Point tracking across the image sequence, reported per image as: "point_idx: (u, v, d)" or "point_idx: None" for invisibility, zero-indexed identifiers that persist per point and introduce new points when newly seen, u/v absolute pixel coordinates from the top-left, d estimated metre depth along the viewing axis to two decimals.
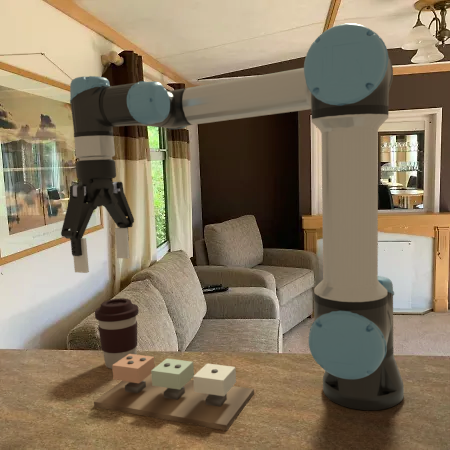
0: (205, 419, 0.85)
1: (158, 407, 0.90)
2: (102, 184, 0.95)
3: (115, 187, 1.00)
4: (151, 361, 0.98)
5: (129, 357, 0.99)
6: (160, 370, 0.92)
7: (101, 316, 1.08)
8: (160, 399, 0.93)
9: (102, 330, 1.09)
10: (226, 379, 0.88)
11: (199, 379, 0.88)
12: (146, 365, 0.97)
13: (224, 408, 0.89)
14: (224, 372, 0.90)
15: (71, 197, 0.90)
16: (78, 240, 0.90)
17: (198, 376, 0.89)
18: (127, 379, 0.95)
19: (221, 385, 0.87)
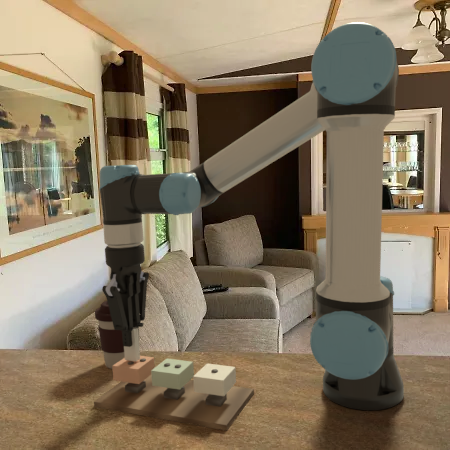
0: (205, 419, 0.85)
1: (158, 407, 0.90)
2: (131, 269, 0.95)
3: (141, 275, 0.99)
4: (151, 362, 0.98)
5: None
6: (160, 370, 0.92)
7: (101, 316, 1.08)
8: (160, 399, 0.93)
9: (102, 330, 1.09)
10: (226, 379, 0.88)
11: (199, 379, 0.88)
12: (146, 366, 0.97)
13: (224, 408, 0.89)
14: (224, 372, 0.90)
15: (108, 297, 0.91)
16: (129, 332, 0.95)
17: (198, 376, 0.89)
18: (127, 380, 0.95)
19: (221, 385, 0.87)
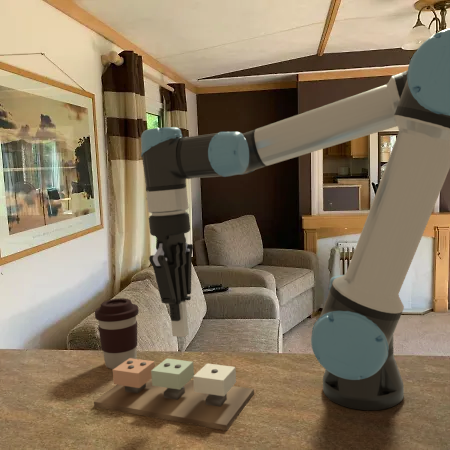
0: (205, 419, 0.85)
1: (158, 407, 0.90)
2: (176, 239, 0.90)
3: (185, 247, 0.95)
4: (151, 366, 0.98)
5: (129, 361, 0.99)
6: (160, 370, 0.92)
7: (101, 316, 1.08)
8: (160, 399, 0.93)
9: (102, 330, 1.09)
10: (226, 379, 0.88)
11: (199, 379, 0.88)
12: (147, 370, 0.97)
13: (224, 408, 0.89)
14: (224, 372, 0.90)
15: (155, 267, 0.86)
16: (177, 305, 0.90)
17: (198, 376, 0.89)
18: (128, 384, 0.95)
19: (221, 385, 0.87)
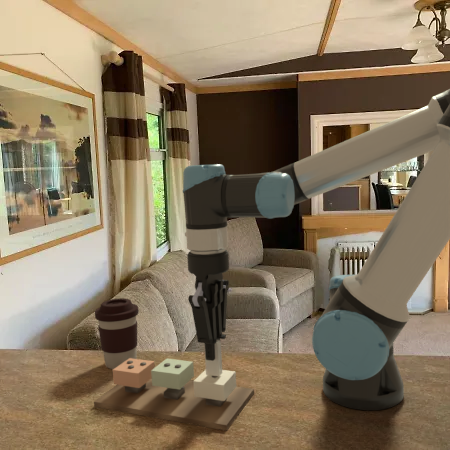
0: (205, 419, 0.85)
1: (158, 407, 0.90)
2: (214, 277, 0.88)
3: None
4: (151, 366, 0.98)
5: (129, 361, 0.99)
6: (160, 370, 0.92)
7: (101, 316, 1.08)
8: (160, 399, 0.93)
9: (102, 330, 1.09)
10: (226, 384, 0.88)
11: (200, 384, 0.89)
12: (147, 370, 0.97)
13: (224, 408, 0.89)
14: (225, 377, 0.90)
15: (193, 307, 0.84)
16: (212, 344, 0.88)
17: (198, 381, 0.89)
18: (128, 384, 0.95)
19: (222, 390, 0.87)
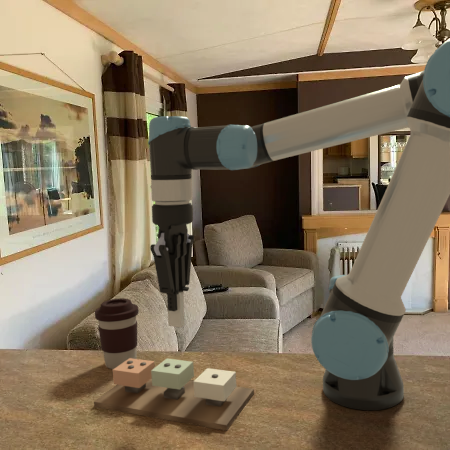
0: (205, 419, 0.85)
1: (158, 407, 0.90)
2: (178, 229, 0.89)
3: (186, 237, 0.94)
4: (151, 366, 0.98)
5: (129, 361, 0.99)
6: (160, 370, 0.92)
7: (101, 316, 1.08)
8: (160, 399, 0.93)
9: (102, 330, 1.09)
10: (226, 384, 0.88)
11: (200, 384, 0.89)
12: (147, 370, 0.97)
13: (224, 408, 0.89)
14: (225, 377, 0.90)
15: (155, 257, 0.86)
16: (175, 295, 0.90)
17: (198, 381, 0.89)
18: (128, 384, 0.95)
19: (222, 390, 0.87)
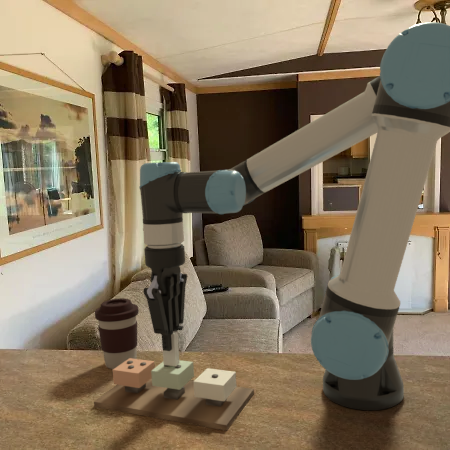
0: (205, 419, 0.85)
1: (158, 407, 0.90)
2: (171, 270, 0.91)
3: (180, 276, 0.96)
4: (151, 366, 0.98)
5: (129, 361, 0.99)
6: (160, 370, 0.92)
7: (101, 316, 1.08)
8: (160, 399, 0.93)
9: (102, 330, 1.09)
10: (226, 384, 0.88)
11: (200, 384, 0.89)
12: (147, 370, 0.97)
13: (224, 408, 0.89)
14: (225, 377, 0.90)
15: (149, 299, 0.88)
16: (169, 335, 0.92)
17: (198, 381, 0.89)
18: (128, 384, 0.95)
19: (222, 390, 0.87)
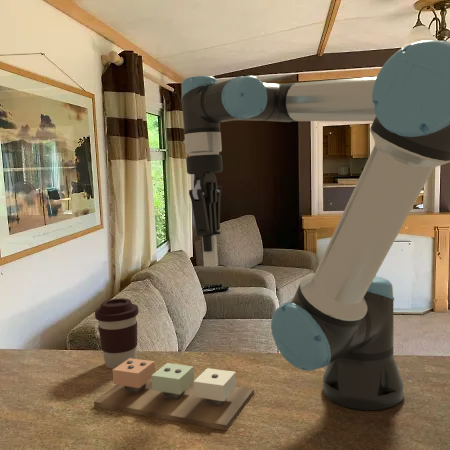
0: (205, 419, 0.85)
1: (158, 407, 0.90)
2: (210, 178, 1.01)
3: None
4: (151, 366, 0.98)
5: (129, 361, 0.99)
6: (161, 374, 0.93)
7: (101, 316, 1.08)
8: (160, 399, 0.93)
9: (102, 330, 1.09)
10: (226, 384, 0.88)
11: (200, 384, 0.89)
12: (147, 370, 0.97)
13: (224, 408, 0.89)
14: (225, 377, 0.90)
15: (193, 201, 0.97)
16: (209, 237, 1.01)
17: (198, 381, 0.89)
18: (128, 384, 0.95)
19: (222, 390, 0.87)
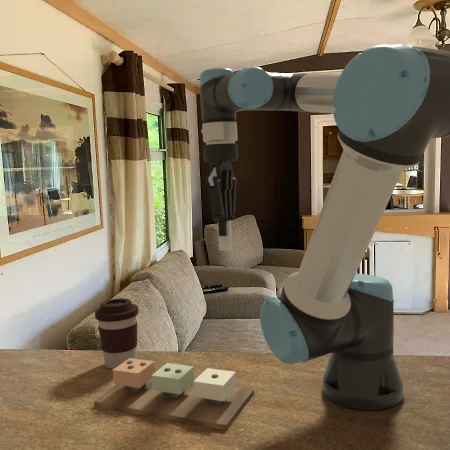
0: (205, 419, 0.85)
1: (158, 407, 0.90)
2: (226, 166, 1.06)
3: None
4: (151, 366, 0.98)
5: (129, 361, 0.99)
6: (161, 374, 0.93)
7: (101, 316, 1.08)
8: (160, 399, 0.93)
9: (102, 330, 1.09)
10: (226, 384, 0.88)
11: (200, 384, 0.89)
12: (147, 370, 0.97)
13: (224, 408, 0.89)
14: (225, 377, 0.90)
15: (209, 187, 1.02)
16: (225, 222, 1.06)
17: (198, 381, 0.89)
18: (128, 384, 0.95)
19: (222, 390, 0.87)
